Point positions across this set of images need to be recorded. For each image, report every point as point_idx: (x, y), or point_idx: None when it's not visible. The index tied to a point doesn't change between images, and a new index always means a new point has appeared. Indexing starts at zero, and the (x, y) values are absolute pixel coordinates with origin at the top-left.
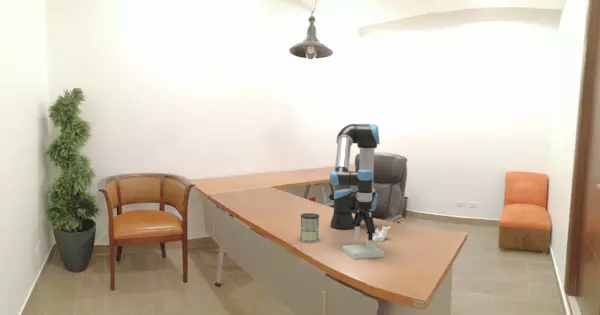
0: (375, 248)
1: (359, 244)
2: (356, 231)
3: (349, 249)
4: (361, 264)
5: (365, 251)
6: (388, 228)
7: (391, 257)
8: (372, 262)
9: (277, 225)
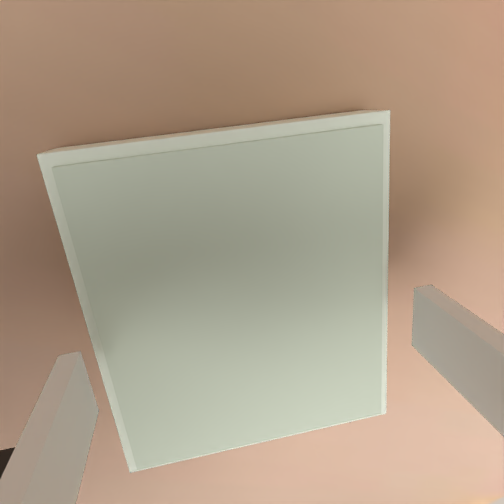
0: (286, 179)
1: (104, 320)
2: (69, 496)
3: (271, 436)
4: None
5: (367, 317)
6: None
7: (393, 26)
8: (465, 266)
9: None
